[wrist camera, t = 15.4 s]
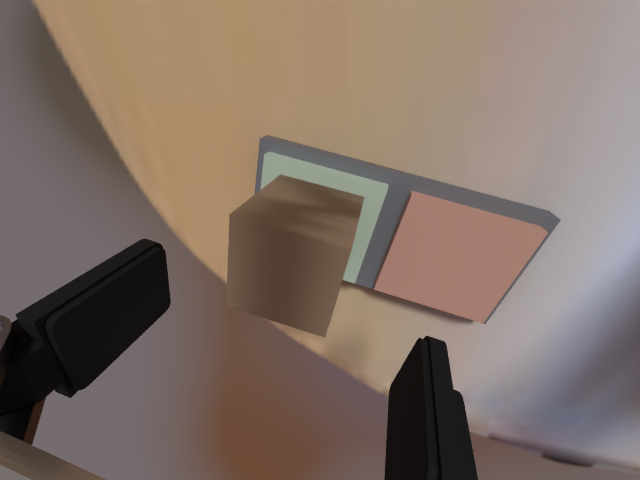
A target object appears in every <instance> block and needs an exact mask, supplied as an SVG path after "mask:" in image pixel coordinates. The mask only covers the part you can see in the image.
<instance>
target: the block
mask: <svg viewBox="0 0 640 480" xmlns="http://www.w3.org/2000/svg"><path fill="white" fill-rule="evenodd" d="M363 201H364V197H363V196H359V195H356V194H352V193H348V192H345V191H341V190H337V189H333V188H330V187H326V186H322V185H319V184H315V183H311V182H307V181H304V180H300V179H296V178H293V177H289V176H285V175H281V174H280V175H279V176H278V177H277V178H275V179H274V180H273V181H271V182H270V183H269V184H268V185H266V186H265V187H264V188H263V189H261V190H260V191H259V192H258V193H256V194H255V195H254V196H252V197H251V198H250V199H249V200H247V201H246V202H245V203H244V204H242V205H241V206H240V207H238V208H237V209H236V210H235V211H233V212H232V213H231V214H230V220H229V247H228V274H227V303H226V305H227V306H229V307H232V308H235V309H238V310H241V311H245V312H248V313H251V314H254V315H257V316H260V317H263V318H266V319H269V320H272V321H275V322H278V323H282V324H285V325H288V326H291V327H294V328H297V329H300V330H303V331H307V332H310V333H313V334H316V335H319V336H322V337H325V336H326V333H327V329H328V326H329V323H330V319H331V316H332V313H333V309H334V306H335V303H336V299H337V296H338V293H339V290H340V286H341V283H342V280H343V276H344V273H345V270H346V266H347V263H348V260H349V257H350V253H351V250H352V246H353V242H354V238H355V234H356V230H357V226H358V222H359V218H360V214H361V209H362V205H363Z"/></svg>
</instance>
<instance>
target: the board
mask: <svg viewBox="0 0 640 480" xmlns="http://www.w3.org/2000/svg"><path fill="white" fill-rule="evenodd" d="M280 174H281V175H285V176H289V177H293V178H296V179H300V180H304V181H307V182H311V183H315V184H319V185H322V186H326V187H330V188H333V189H337V190H341V191H345V192H348V193H352V194H356V195H359V196H363V197H364V201H363V205H362V209H361V214H360V218H359V222H358V226H357V230H356V234H355V238H354V242H353V246H352V250H351V253H350V257H349V260H348V263H347V266H346V270H345V273H344V276H343V280H345V281H348V282H351V283H354V284H357V285H361V286H364V287H367V288H370V289H374V290H377V291H380V292H383V293H386V294H390V295H393V296H396V297H399V298H403V299H406V300H409V301H412V302H416V303H419V304H422V305H425V306H428V307H432V308H435V309H438V310H441V311H445V312H448V313H451V314H454V315H458V316H461V317H464V318H467V319H470V320H474V321H477V322H480V323H483V324H486V322H487V321H488V320H489V318H490V317H491V315H492V314H493V313H494V311H495V310H496V309H497V307H498V306H499V304H500V303H501V302H502V300H503V299H504V297H505V296H506V295H507V293H508V292H509V291H510V289H511V288H512V286H513V285H514V284H515V282H516V281H517V280H518V278H519V277H520V275H521V274H522V273H523V271H524V270H525V268H526V267H527V266H528V264H529V263H530V262H531V260H532V259H533V257H534V256H535V255H536V253H537V252H538V251H539V249H540V248H541V246H542V245H543V244H544V242H545V241H546V239H547V238H548V237H549V235H550V234H551V233H552V231H553V230H554V228H555V227H556V226H557V224H558V223H559V222H560V219H559V218H557V217H556V216H555V215H554V214H552V213H551V212H550V211H546V210H543V209H539V208H535V207H531V206H528V205H524V204H520V203H517V202H513V201H509V200H505V199H502V198H498V197H494V196H491V195H487V194H483V193H480V192H476V191H472V190H468V189H465V188H461V187H457V186H454V185H450V184H446V183H442V182H439V181H435V180H431V179H428V178H424V177H420V176H417V175H413V174H409V173H405V172H402V171H398V170H394V169H391V168H387V167H383V166H380V165H376V164H372V163H368V162H365V161H361V160H357V159H354V158H350V157H346V156H342V155H339V154H335V153H331V152H328V151H324V150H320V149H317V148H313V147H309V146H305V145H302V144H298V143H294V142H291V141H287V140H283V139H279V138H276V137H272V136H268V135H267V136H265V137H262V138H260V144H259V155H258V165H257V175H256V186H255V194H256V193H258V192H259V191H260V190H261V189H263V188H264V187H265V186H266V185H268V184H269V183H270V182H271V181H273V180H274V179H275V178H277V177H278V176H279V175H280Z"/></svg>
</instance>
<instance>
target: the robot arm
mask: <svg viewBox="0 0 640 480" xmlns="http://www.w3.org/2000/svg"><path fill="white" fill-rule="evenodd" d="M170 303H171V301H170V291H169V281H168V272H167V264H166V253H165V250H164V249H163V247H162V245H161V244H159V243H157V242H154V241H151V240H148V239H142V240H140V241H138V242H136V243H135V244H133V245H131V246H129V247H128V248H126V249H124V250H123V251H121V252H120V253H118V254H116V255H114V256H113V257H111V258H109V259H108V260H106V261H104V262H103V263H101V264H100V265H98V266H96V267H94V268H93V269H91V270H89V271H88V272H86V273H84V274H83V275H81V276H79V277H78V278H76V279H74V280H73V281H71V282H69V283H68V284H66V285H64V286H62V287H61V288H59V289H57V290H56V291H54V292H53V293H51V294H49V295H47V296H46V297H44V298H43V299H41V300H39V301H37V302H36V303H34V304H32V305H31V306H29V307H27V308H26V309H24V310H22V311H21V312H19V313H17V314H16V317H17V320H15V321H14V322H12V323H11V321H10V319H9V318H7V317H5V316H2V315H0V480H106V479H104V478H101V477H99V476H97V475H95V474H93V473H91V472H89V471H86V470H84V469H82V468H80V467H78V466H76V465H73V464H71V463H69V462H67V461H65V460H62V459H60V458H58V457H56V456H54V455H52V454H49V453H47V452H45V451H43V450H41V449H38V448H36V447H34V446H32V443H33V440H34V437H35V433H36V430H37V426H38V423H39V419H40V416H41V413H42V409H43V406H44V402H45V399H46V396H47V395H49V394H50V393H51V392H52V391H53V390H54V389H55V391H56V392H58V393H60V394H62V395H64V396H67V397H69V398H71V397H72V396H73V395H74V394H75V393H76V392H77V391H78V390H82V389H84V388H86V387H87V386H88V385H89V384H91V383H92V382H93V381H94V380H95V379H96V378H97V377H98V376H99V375H100V374H101V373H102V372H103V371H104V370H105V369H106V368H107V367H108V366H109V365H110V364H112V363H113V362H114V360H116V359H117V358H118V357H119V356H120V355H121V354H122V353H123V352H124V351H125V350H126V349H127V348H128V347H129V346H130V345H131V344H132V343H133V342H134V341H135V340H137V339H138V338H139V337H140V336H141V335H142V334H143V333H144V332H145V331H146V330H147V329H148V328H149V327H150V326H151V325H152V324H153V323H154V322H155V321H156V320H157V319H158V318H159V317H161V316H162V315H163V314H164V313H165V312H166V311H167V310H168V308H169V306H170ZM385 480H478V477H477V472H476V466H475V460H474V455H473V449H472V444H471V439H470V433H469V427H468V422H467V416H466V411H465V405H464V401H463V397H462V395H461V393H460V392H458V391H456V390H454V389H453V384H452V378H451V371H450V365H449V358H448V352H447V346H446V343H445V342H444V341H441V340H438V339H435V338H432V337H429V336H426V337H425V338H424V339H421V338H419V339H418V340H417V341H416V343H415V345H414V346H413V348H412V350H411V352H410V353H409V355H408V357H407V358H406V360H405V362H404V364H403V365H402V367H401V369H400V370H399V372H398V374H397V375H396V377H395V379H394V381H393V382H392V384H391V387H390V391H389V404H388V423H387V442H386V461H385Z"/></svg>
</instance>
